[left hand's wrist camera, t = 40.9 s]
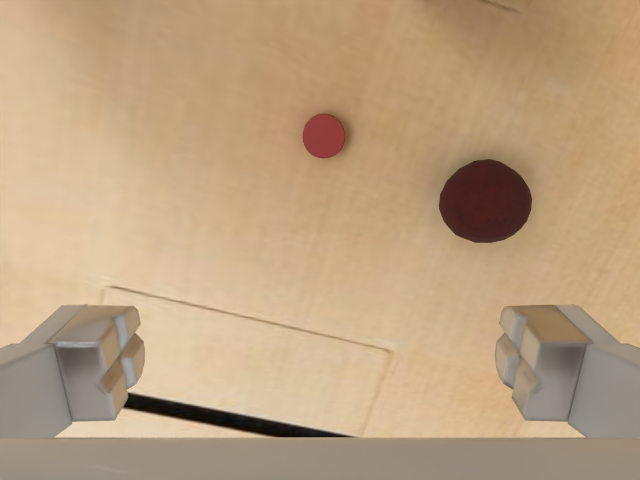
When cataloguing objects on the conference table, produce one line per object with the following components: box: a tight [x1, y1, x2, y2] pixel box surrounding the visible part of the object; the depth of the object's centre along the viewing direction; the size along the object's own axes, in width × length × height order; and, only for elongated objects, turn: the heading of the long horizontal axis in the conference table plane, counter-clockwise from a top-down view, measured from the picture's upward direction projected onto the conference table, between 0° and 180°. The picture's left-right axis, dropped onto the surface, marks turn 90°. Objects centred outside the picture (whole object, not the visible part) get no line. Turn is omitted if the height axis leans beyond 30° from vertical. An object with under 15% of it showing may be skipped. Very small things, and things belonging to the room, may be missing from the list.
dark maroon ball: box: [439, 159, 532, 243], centre depth 40 cm, size 7×8×7 cm
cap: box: [303, 114, 345, 158], centre depth 41 cm, size 4×4×2 cm
